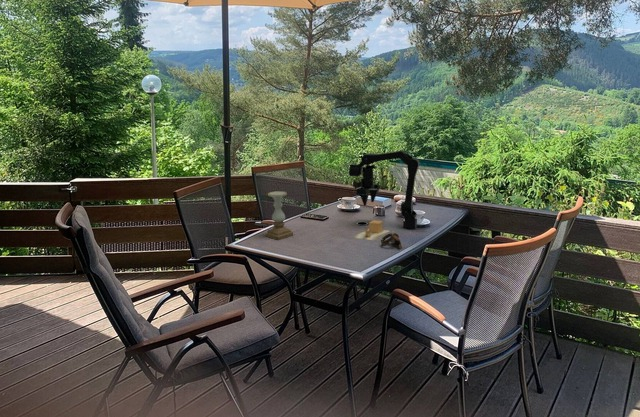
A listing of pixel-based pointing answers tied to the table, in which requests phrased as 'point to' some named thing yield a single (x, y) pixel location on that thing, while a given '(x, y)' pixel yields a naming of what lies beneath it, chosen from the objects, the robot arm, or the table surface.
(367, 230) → the copper post
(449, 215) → the table surface
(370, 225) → the tan wooden cube
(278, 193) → the candle holder
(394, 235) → the brown striped lump
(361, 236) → the birch board
